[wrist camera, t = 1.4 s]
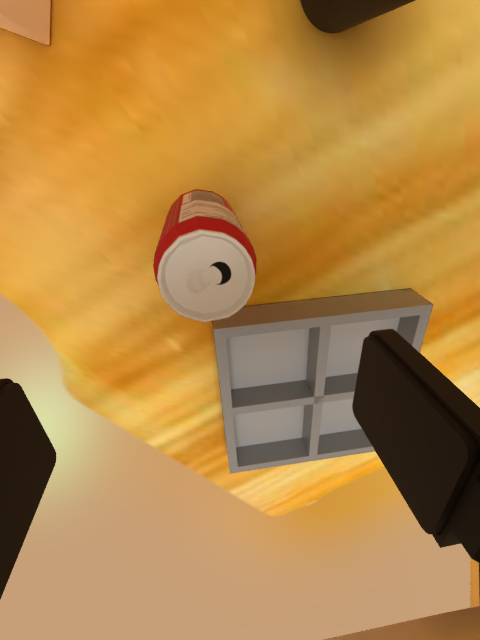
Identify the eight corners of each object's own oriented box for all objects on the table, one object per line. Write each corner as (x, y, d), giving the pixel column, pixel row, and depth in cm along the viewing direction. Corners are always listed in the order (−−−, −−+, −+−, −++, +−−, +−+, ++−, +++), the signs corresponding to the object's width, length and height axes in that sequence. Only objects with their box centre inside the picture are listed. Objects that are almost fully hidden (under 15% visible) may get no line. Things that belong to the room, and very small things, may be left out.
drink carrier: (410, 288, 32) (433, 304, 29) (377, 426, 42) (391, 448, 39) (211, 310, 30) (213, 329, 27) (227, 448, 40) (229, 473, 37)
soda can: (182, 265, 27) (175, 342, 17) (155, 201, 25) (129, 248, 14) (242, 245, 27) (273, 311, 17) (223, 179, 24) (246, 209, 14)
